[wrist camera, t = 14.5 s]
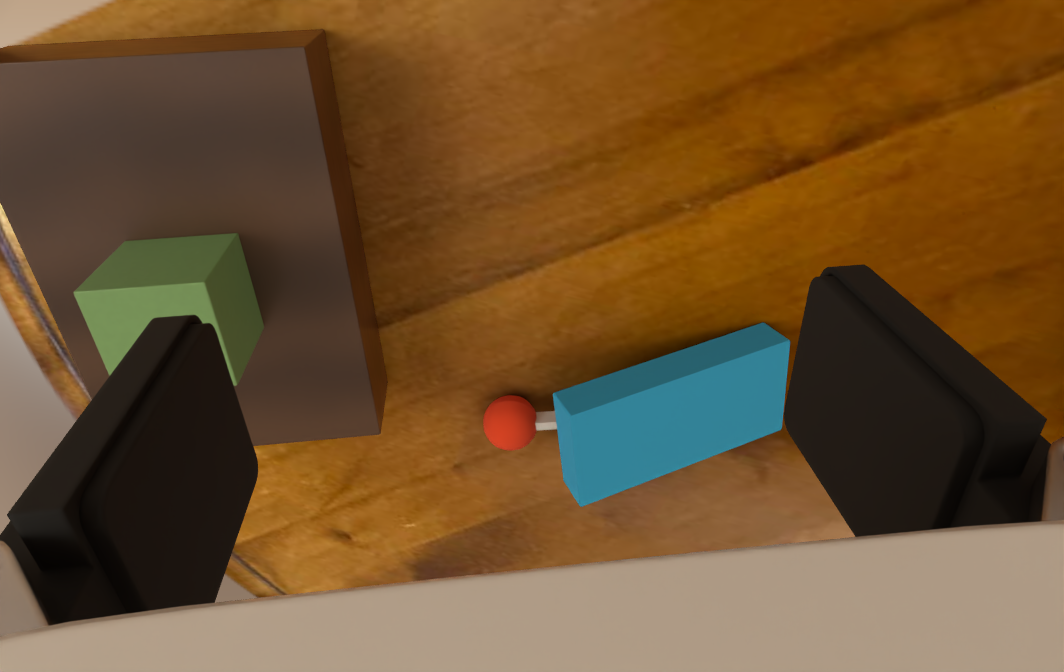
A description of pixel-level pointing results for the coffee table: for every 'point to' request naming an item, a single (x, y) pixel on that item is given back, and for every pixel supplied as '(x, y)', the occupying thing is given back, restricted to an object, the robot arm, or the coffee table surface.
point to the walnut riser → (203, 201)
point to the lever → (656, 412)
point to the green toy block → (173, 294)
